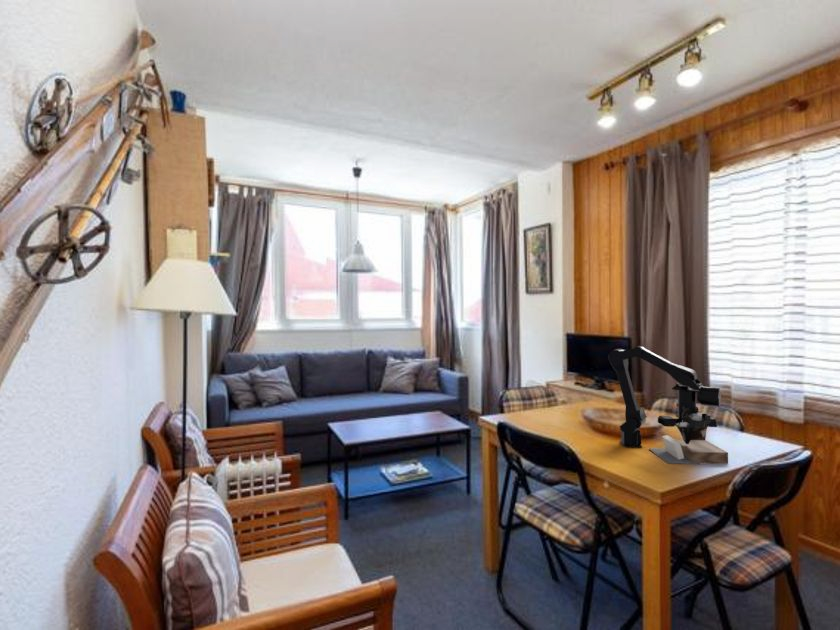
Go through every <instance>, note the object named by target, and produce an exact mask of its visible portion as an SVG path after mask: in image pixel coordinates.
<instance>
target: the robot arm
mask: <svg viewBox="0 0 840 630" xmlns="http://www.w3.org/2000/svg"><path fill="white" fill-rule="evenodd" d="M607 355H608V356H607V359H608V361H609V363H610V365H611V366H612V368H613V370H614V371H615V372H616V375H617V380H618V383H619V386H620V391H621V394H622V397H623V401H624V405H625V410H624V411H625V412H624V413H625V414H624V415H625V417H624V418H625V422H623V423H622V424H621V425H619V428H620V433H621V435H620V436H621V437H620V439H621V440H620V441H619V443H620V444H621V445H622V446H623V447H624V448H643V446H642V433H641V431H640V428H641V427H643V425H645V423H646V421H647V419H646V418H648V417H647V416H648V415H647V414H646V410H645V407H640V405H639V404H638V401H637V398H636V397H637V396H636V394H635V390H634V387H633V383H632V380H631V377H630V372H629V359H632V358H640V359H642V360H643V361H645V362H647V363H649V364H650V365H652V366H655V367H657V368H658V369H659V370H662V371H663V372H665V373H667V374H668V375H669V376H670V377H671V378H673V380H675V381H676V382H677V383H676V384H675V385H674V386H673V387H671V390H674V391H677V402H676V404H675V405H676V407H677V413H676V415H675V416H676V418H675V417H672V416H670V415H659V416H658V417H657V423H658V424H660V425H661V426H664V427H666V428H667V427H668V428H669V427H671V428H673V427H676V428H677V429H678V432H679V433H680V435H681V437H682V440H684V442H685V444H689V442H690V440H691V438H692V436H693V434H694V432H695V431H696V430H698V429H701V428H704V426H705V424H706V425H707V426H708V427H707V428H718V420H717V419H716V418H714V417H712V416H711V414H710V413H707V412H706V413H705V412H704V413H700V411H699V407H698V406H697V402H698V403H700V405H702V406H711V407H721V406H722V405H721V403H722V395H721V388H720V387H718V386H713V387H711V386H704V384H703V383H702V382H701V381H700V379H699V378H698V374H697V372H696V371H695V370H694V369H692V368H690V367H687V366H683V365H680V364H676V363H673V362H672V361H670V360H668V359H666V358H664V357H662V356H661V355H658V354H656V353H655V352H652V351H651V350H649V349H647V348H645V347H644V346H642V345H638V346H635V347H632V348H628V349H627V348H626V349H623V348H616V349H613V350H611V351H610V352H609V353H608V354H607Z"/></svg>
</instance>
